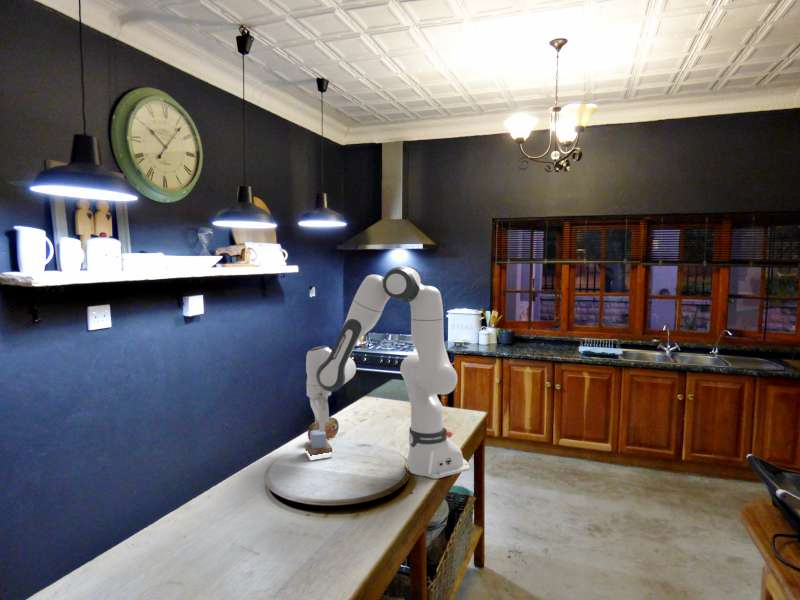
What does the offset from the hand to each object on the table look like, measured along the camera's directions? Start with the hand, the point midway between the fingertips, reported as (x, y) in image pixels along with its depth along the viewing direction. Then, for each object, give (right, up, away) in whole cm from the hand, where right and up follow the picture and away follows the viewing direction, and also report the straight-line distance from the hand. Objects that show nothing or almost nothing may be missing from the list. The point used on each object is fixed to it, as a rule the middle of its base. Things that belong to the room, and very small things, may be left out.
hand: (319, 426), depth 179 cm
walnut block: (-1, -11, +1) cm, 11 cm away
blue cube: (-1, -7, 0) cm, 7 cm away
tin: (-1, -10, +16) cm, 18 cm away
